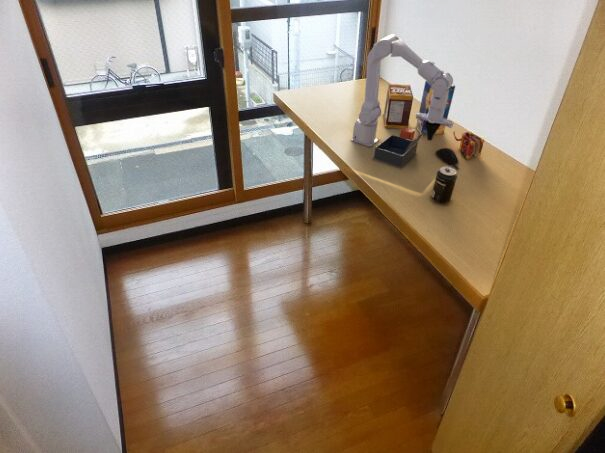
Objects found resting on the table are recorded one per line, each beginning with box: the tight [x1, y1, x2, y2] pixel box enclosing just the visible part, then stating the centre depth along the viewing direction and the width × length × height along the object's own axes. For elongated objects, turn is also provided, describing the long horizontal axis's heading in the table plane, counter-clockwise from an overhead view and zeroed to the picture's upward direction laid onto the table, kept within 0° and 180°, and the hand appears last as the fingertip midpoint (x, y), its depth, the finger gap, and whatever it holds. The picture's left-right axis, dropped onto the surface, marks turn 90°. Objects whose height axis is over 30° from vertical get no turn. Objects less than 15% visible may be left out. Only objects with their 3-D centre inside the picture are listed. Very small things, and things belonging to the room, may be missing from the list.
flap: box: [403, 130, 426, 155], centre depth 169 cm, size 15×6×1 cm
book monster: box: [452, 131, 485, 160], centre depth 178 cm, size 11×9×12 cm
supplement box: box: [383, 83, 414, 130], centre depth 200 cm, size 10×15×16 cm
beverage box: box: [415, 80, 456, 135], centre depth 191 cm, size 7×11×22 cm, turn 98°
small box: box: [399, 126, 416, 141], centre depth 186 cm, size 5×4×6 cm
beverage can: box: [430, 166, 458, 204], centre depth 149 cm, size 7×7×12 cm
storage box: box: [373, 134, 419, 168], centre depth 176 cm, size 15×12×6 cm
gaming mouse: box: [435, 147, 459, 170], centre depth 175 cm, size 6×15×4 cm, turn 15°
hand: (429, 139), depth 171 cm, fingers closed
